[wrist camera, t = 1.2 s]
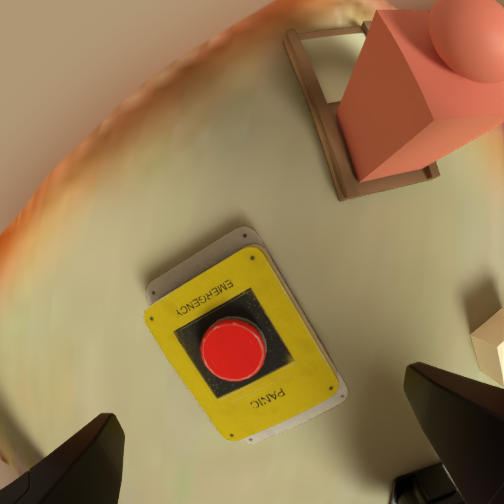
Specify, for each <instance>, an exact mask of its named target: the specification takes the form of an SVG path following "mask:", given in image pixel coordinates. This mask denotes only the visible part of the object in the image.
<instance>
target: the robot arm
mask: <svg viewBox="0 0 504 504" xmlns="http://www.w3.org/2000/svg"><path fill="white" fill-rule="evenodd" d="M404 392H405V394H406V396H407V398H408V400H409V402H410V405H411V407H412V409H413V411H414V413H415V415H416V417H417V420H418V422H419V424H420V426H421V428H422V430H423V431H424V433H425V435H426V436H427V438H428V440H429V441H430V443H431V444H432V446H433V448H434V449H435V451H436V453H437V454H438V456H439V458H440V459H441V461H442V463H439V464H436V465H434V466H431V467H428V468H425V469H423V470H420V471H417V472H414V473H411V474H407V475H404V476H401V477H398V478H396V479H395V480H394V485H393V492H392V498H391V504H504V389H502V388H499V387H495V386H492V385H489V384H486V383H482V382H479V381H476V380H473V379H470V378H467V377H464V376H461V375H457V374H454V373H451V372H448V371H445V370H442V369H439V368H436V367H433V366H430V365H428V364H425V363H422V362H415V363H413V364H410V365H408V366H407V368H406V373H405V379H404ZM124 442H125V435H124V431H123V429H122V427H121V425H120V423H119V422H118V420H117V418H116V416H115V415H114V414H113V413H101V414H99V415H98V416H97V417H96V418H94V419H93V420H92V421H91V422H89V423H88V424H87V425H86V426H84V427H83V428H82V429H81V430H79V431H78V432H77V433H76V434H74V435H73V436H72V437H71V438H69V439H68V440H67V441H66V442H64V443H63V444H62V445H60V446H59V447H58V448H57V449H55V450H54V451H53V452H52V453H50V454H49V455H48V456H46V457H45V458H44V459H42V460H41V461H40V462H39V463H37V464H36V465H35V466H33V467H32V468H31V469H30V470H29V471H27V472H25V473H24V474H23V475H22V476H20V477H19V478H18V479H16V480H15V481H13V482H12V483H10V484H9V485H7V486H6V487H4V488H3V489H1V490H0V504H118V499H119V493H120V487H121V481H122V472H123V455H124ZM452 480H453V481H452ZM399 481H400V482H399ZM454 483H455V484H454Z"/></svg>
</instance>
